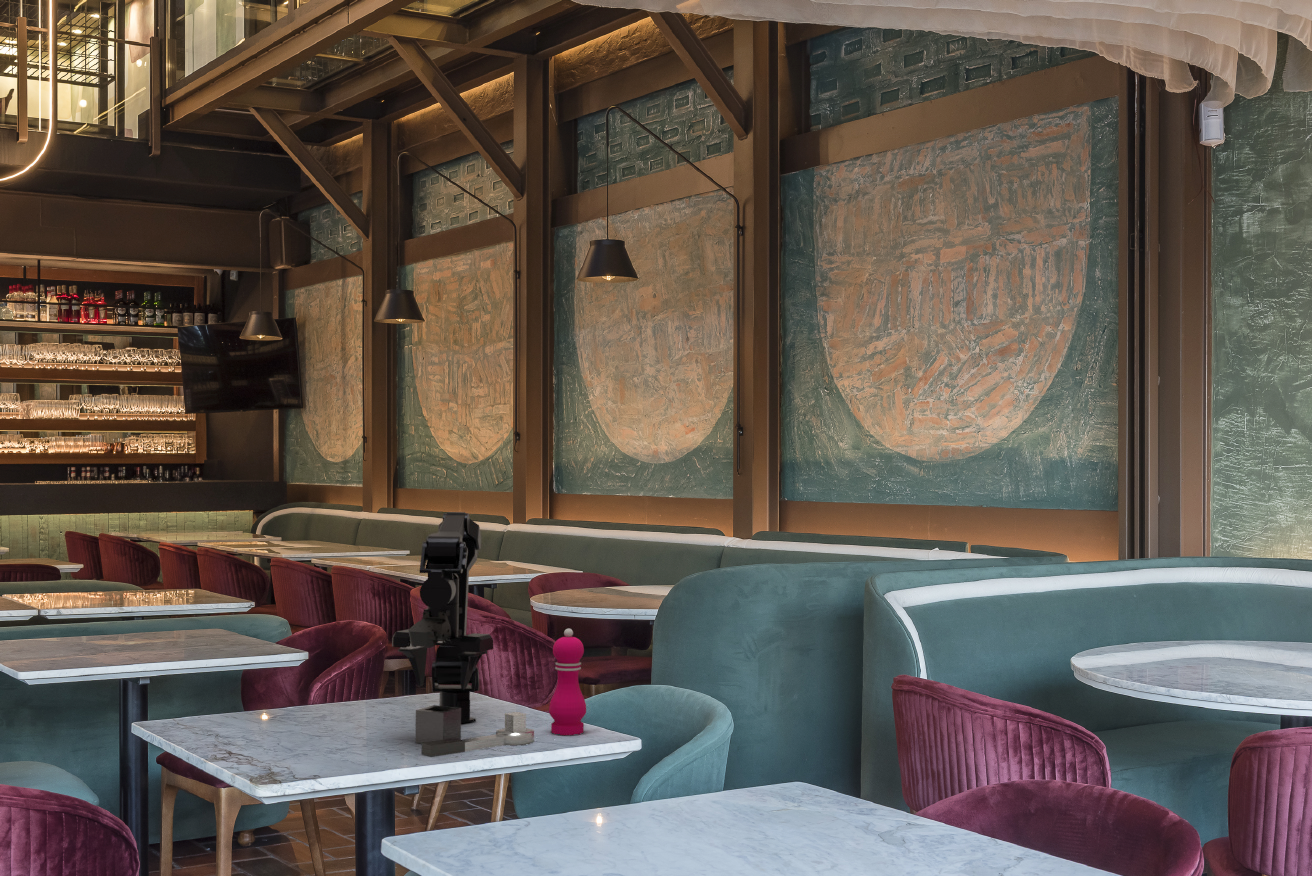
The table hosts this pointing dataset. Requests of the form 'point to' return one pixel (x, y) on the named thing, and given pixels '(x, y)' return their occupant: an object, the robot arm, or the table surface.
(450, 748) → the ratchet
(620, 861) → the table surface
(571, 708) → the pepper mill
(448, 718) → the grey open-top box
